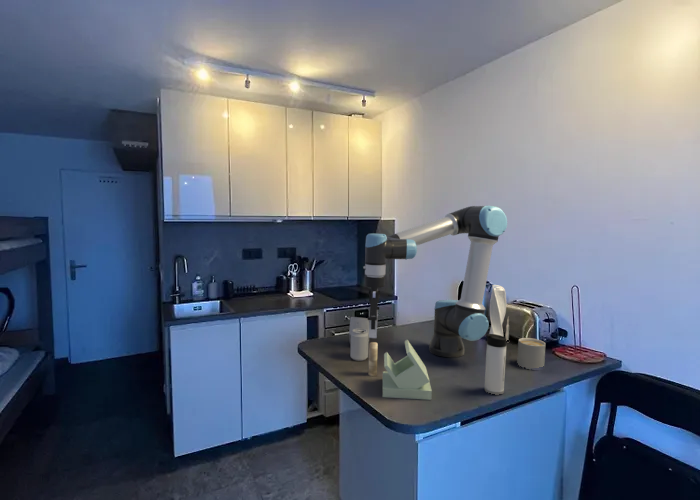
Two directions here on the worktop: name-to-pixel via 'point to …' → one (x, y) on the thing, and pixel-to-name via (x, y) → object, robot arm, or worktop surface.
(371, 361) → the dowel
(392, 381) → the socket
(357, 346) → the can
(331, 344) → the worktop surface
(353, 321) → the smart speaker
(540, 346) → the coffee mug
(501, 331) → the skyscraper
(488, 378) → the travel mug
